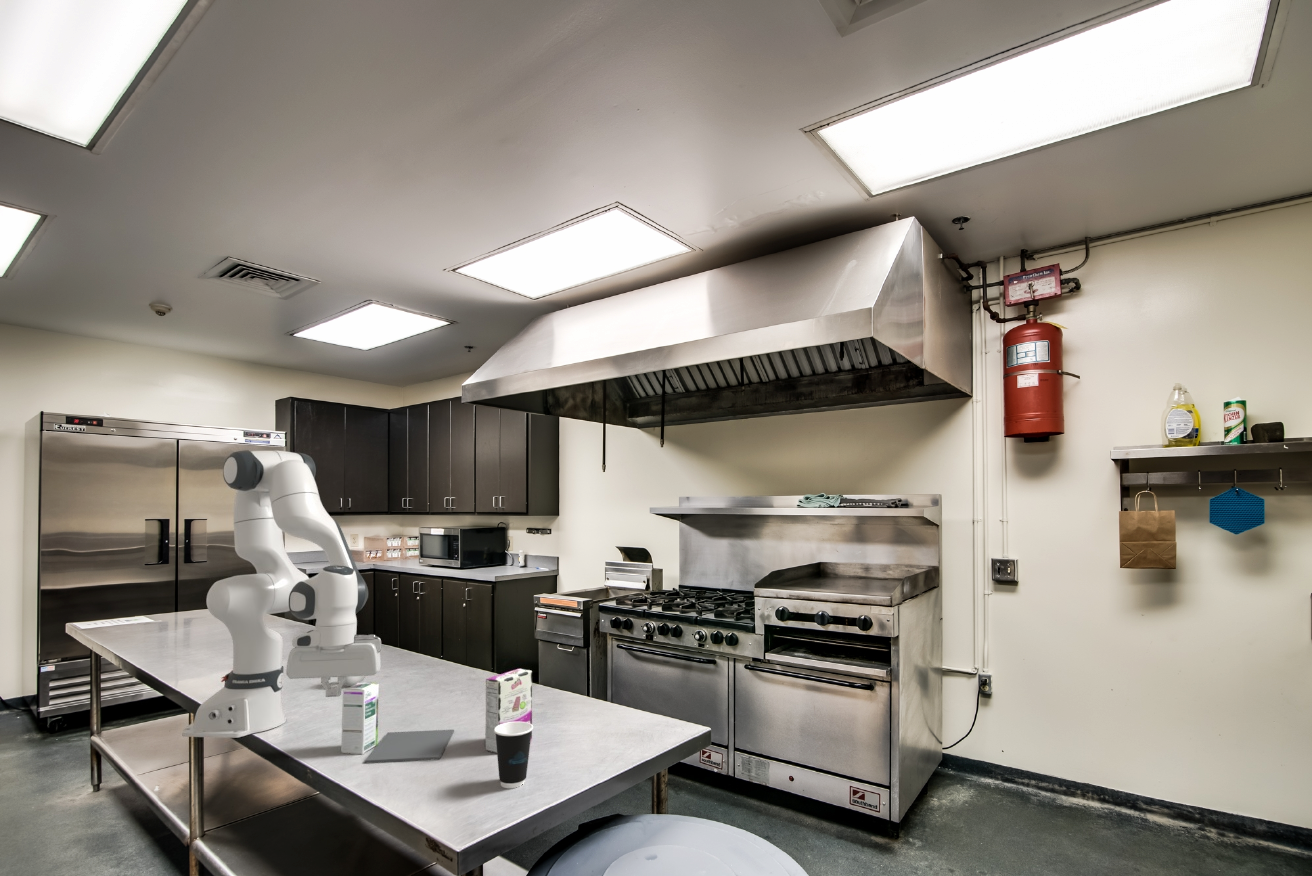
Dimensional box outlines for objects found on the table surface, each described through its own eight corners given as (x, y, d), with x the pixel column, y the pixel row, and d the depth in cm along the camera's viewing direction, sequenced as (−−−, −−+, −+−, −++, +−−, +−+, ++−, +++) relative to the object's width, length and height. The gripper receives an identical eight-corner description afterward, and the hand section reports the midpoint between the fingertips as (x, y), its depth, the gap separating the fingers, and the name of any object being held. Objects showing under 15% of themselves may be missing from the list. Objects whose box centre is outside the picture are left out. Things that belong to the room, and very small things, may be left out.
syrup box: (362, 754, 148) (365, 689, 150) (339, 753, 150) (342, 688, 151) (377, 745, 154) (380, 682, 156) (355, 744, 155) (357, 681, 157)
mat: (364, 763, 143) (364, 760, 144) (387, 735, 161) (387, 732, 161) (439, 759, 146) (439, 756, 146) (454, 731, 163) (454, 729, 163)
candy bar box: (517, 736, 160) (518, 667, 162) (532, 739, 158) (533, 670, 159) (483, 750, 151) (485, 677, 153) (498, 755, 148) (500, 680, 150)
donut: (342, 690, 200) (344, 657, 201) (335, 689, 202) (337, 656, 203) (370, 682, 209) (371, 650, 210) (363, 681, 211) (364, 649, 212)
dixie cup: (518, 794, 128) (519, 736, 129) (484, 788, 131) (486, 731, 132) (539, 778, 135) (540, 723, 136) (507, 773, 138) (508, 719, 139)
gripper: (385, 631, 158) (383, 690, 157) (296, 634, 156) (293, 694, 154) (377, 636, 152) (375, 698, 150) (284, 639, 149) (281, 702, 148)
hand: (333, 696), depth 152 cm, fingers closed
